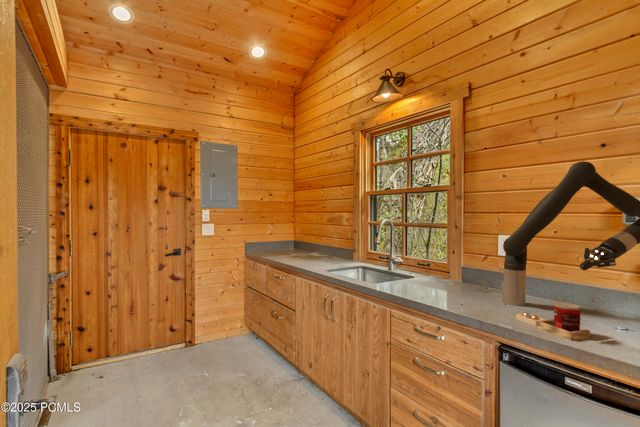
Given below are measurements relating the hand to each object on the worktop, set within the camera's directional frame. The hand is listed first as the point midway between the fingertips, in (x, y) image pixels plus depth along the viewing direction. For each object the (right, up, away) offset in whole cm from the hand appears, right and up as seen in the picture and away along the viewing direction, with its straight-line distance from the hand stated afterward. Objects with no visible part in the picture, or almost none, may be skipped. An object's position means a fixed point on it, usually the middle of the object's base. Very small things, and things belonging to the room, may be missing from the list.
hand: (581, 268), depth 135 cm
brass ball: (-20, -22, -1) cm, 29 cm away
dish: (-20, -22, +1) cm, 30 cm away
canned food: (-15, -23, -12) cm, 30 cm away
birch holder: (-16, -23, -11) cm, 30 cm away
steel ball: (-21, -22, +3) cm, 30 cm away
